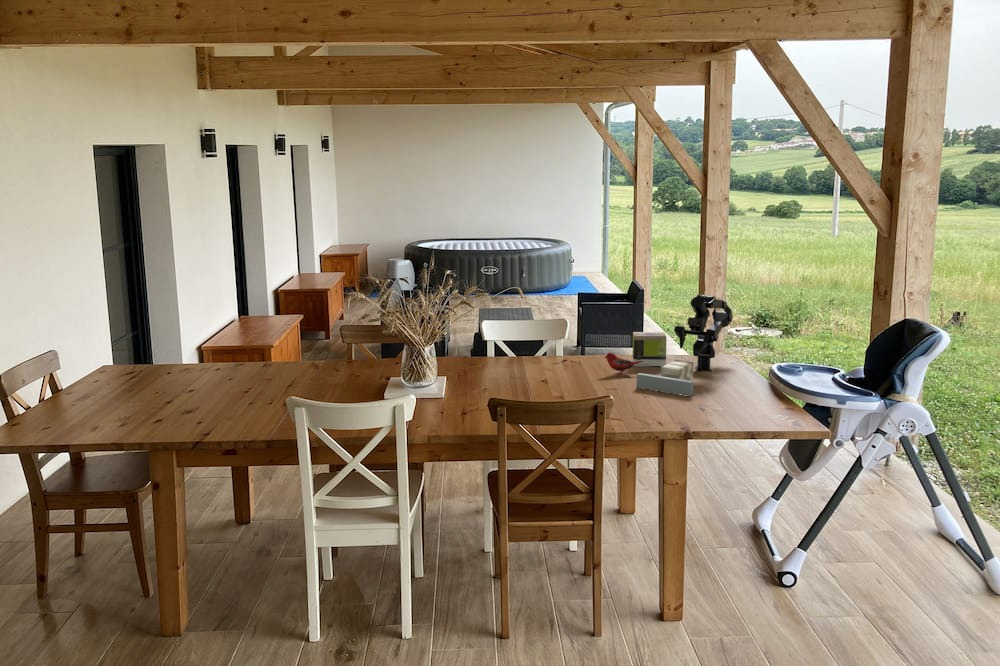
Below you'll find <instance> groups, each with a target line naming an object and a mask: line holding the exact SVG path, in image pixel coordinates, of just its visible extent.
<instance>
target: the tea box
mask: <svg viewBox="0 0 1000 666" xmlns="http://www.w3.org/2000/svg"><path fill="white" fill-rule="evenodd" d="M637 361H643V362H640V363H637V364H635V365H633V367H650V366H660V368H661V367H663V366H665V365H667V334H666V332H664V331H661V332H659V331H657V332H656V331H633V332H632V362H637Z"/></svg>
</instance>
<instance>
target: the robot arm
mask: <svg viewBox="0 0 1000 666" xmlns="http://www.w3.org/2000/svg"><path fill="white" fill-rule="evenodd" d="M690 306H691V308H692V310H693V313H694V317H688V318H687V324H686V325H688V328H689V329H686V328H685V326H684V325H676V326H674V329H673V331H674V333H675V335H676V336H677V337H678V338H679V349H681V350H682V349H683V347H684V345H685V342H686V336H687V335H690V336H691V335H692V336H698V337H697V338H696V339H695V342H694V343H693V344H692V351H693V352H692V353H693V357H697V361H696V362H697V363H696V364H697V365H696V366H695V367H694V368H695V369H696V371H698V372H712V371H713V370H712V368H711V359H715V357H716V350H715V347H714V344H713V343H714V342H718V340H719V334H720V332H721V331H722V329H723V328H725V327H728V326H729V325H730V324H731V323H732V322H733V312H732V309H731V308H730V307H729V306H728V303H727V301H726V300H725V299H717V297H716V296H715V295H707V294H697V295H696V296H695V297H693V298H692V299H691V300H690ZM709 309H710V310H711V309H713V310H712V311H710V310H709ZM716 309H722V310H723V311H722V310H721V311H720V310H716ZM711 315H712V321H713V322H712V323H711V325H710V326H709V328H707V323H708V319H709V318H710V317H711ZM706 328H707V329H706ZM705 329H706V330H705Z"/></svg>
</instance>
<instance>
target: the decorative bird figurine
mask: <svg viewBox="0 0 1000 666" xmlns="http://www.w3.org/2000/svg"><path fill="white" fill-rule="evenodd" d="M604 358H605V359H606V361H607V362H608V365H609V367H610V368H611V369H612V370H614V371H618V372H616V373H615V372H613V373H612V374H614V375H623V374H625V373H624V371H626V370H628V369H631V368H632V367H634V365H635V364H637V363H640V362H643V361H637V362H633V361H631V360H628V359H625V358H623V357H618V356H617V355H616V354H614V353H612V352H608V353H606V355H605V356H604Z"/></svg>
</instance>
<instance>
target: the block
mask: <svg viewBox="0 0 1000 666" xmlns="http://www.w3.org/2000/svg"><path fill="white" fill-rule="evenodd" d="M694 364H695V363H694V361H689V360H682V359H674V360H673V361H671V362H669V363H666V365H665V366H663V367H660V376H662V377H669V378H675V379H682V380H688V381H693V380H694Z"/></svg>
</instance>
